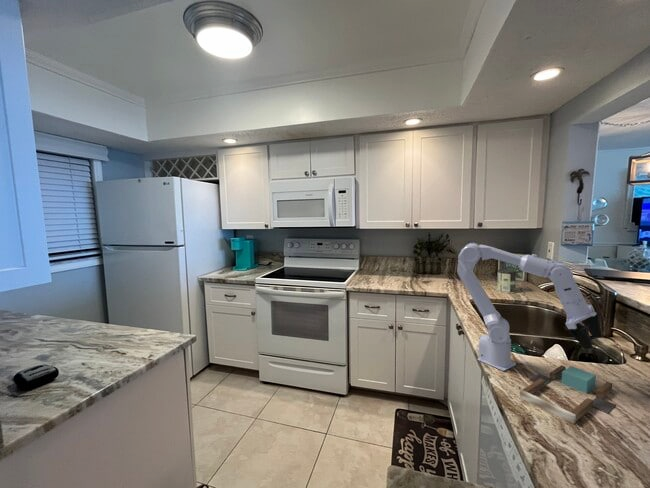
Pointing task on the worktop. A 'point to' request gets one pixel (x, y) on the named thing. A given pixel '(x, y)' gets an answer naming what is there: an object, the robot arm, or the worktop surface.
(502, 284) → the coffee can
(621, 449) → the worktop surface
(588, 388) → the teal block
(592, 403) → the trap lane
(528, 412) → the worktop surface
